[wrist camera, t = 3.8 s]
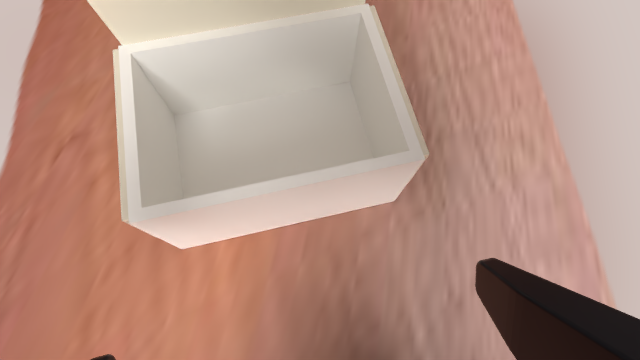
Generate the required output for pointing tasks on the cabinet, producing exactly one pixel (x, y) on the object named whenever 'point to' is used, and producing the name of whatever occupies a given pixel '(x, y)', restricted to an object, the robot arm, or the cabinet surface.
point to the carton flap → (197, 15)
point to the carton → (261, 126)
